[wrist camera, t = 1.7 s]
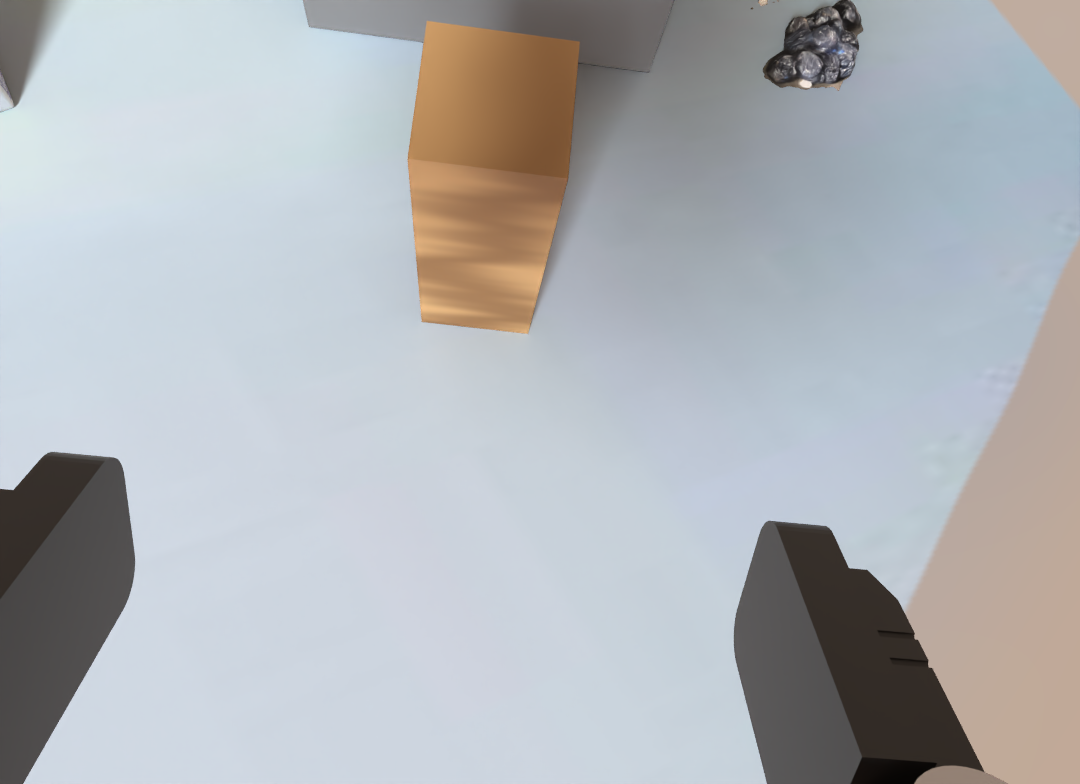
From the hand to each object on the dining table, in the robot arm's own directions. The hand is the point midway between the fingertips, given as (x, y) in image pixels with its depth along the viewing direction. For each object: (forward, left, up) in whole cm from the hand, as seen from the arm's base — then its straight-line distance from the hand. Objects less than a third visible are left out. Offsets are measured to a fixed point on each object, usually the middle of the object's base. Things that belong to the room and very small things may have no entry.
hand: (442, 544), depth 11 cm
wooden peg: (0, +12, -21) cm, 24 cm away
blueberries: (+13, +25, -21) cm, 35 cm away
